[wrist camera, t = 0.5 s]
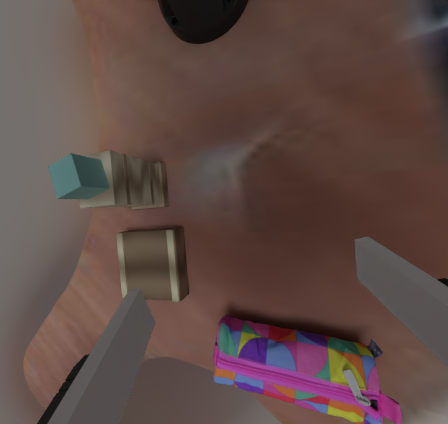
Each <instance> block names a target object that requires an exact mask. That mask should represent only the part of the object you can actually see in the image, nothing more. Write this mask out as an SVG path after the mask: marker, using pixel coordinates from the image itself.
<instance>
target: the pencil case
mask: <svg viewBox="0 0 448 424" xmlns="http://www.w3.org/2000/svg"><path fill="white" fill-rule="evenodd" d="M382 353H383V352H382V351H381V350H380V348H379V347H378V346H377V345H376V343H375V342H374V341H373V340H371V342H370V345H369V346H366V345H364V344H362V343H357V342H351V341H345V340H341V339H338V338H334V337H330V336H325V335H319V334H313V333H307V332H303V331H299V330H294V329H287V328H280V327H276V326H272V325H267V324H260V323H253V322H251V321H248V320H239V319H237V318H236V317H232V316H228V315H226V316H224V317H222V319H221V320H220V322H219V325H218V330H217V338H216V343H215V349H214V355H213V361H214V367H215V371H214V377H213V378H214V381H215V382H216V383H221V384H229V385H233V386H236V387H238V388H241V389H244V390H246V391H251V392H256V393H259V394H263V395H266V396H270V397H273V398H277V399H280V400H283V401H286V402H289V403H293V404H295V405H298V406H301V407H304V408H307V409H311V410H314V411H318V412H322V413H325V414H330V415H334V416H340V417H343V418H346V419H348V420H350V421H352V422H355V423H357V424H383V417H382V416H384V417H386V418H388V419H390V420H391V421H393V422H394V423H395V424H401V409H400V404H399V403H398V402H396V401H395V400H393V399H392V398H390V397H388V396H386V395H384V394H382V393H381V392H380V386H379V380H378V374H377V368H376V365H375V362H374V359H373V358H377V357H379V356H381V355H382Z"/></svg>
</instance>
